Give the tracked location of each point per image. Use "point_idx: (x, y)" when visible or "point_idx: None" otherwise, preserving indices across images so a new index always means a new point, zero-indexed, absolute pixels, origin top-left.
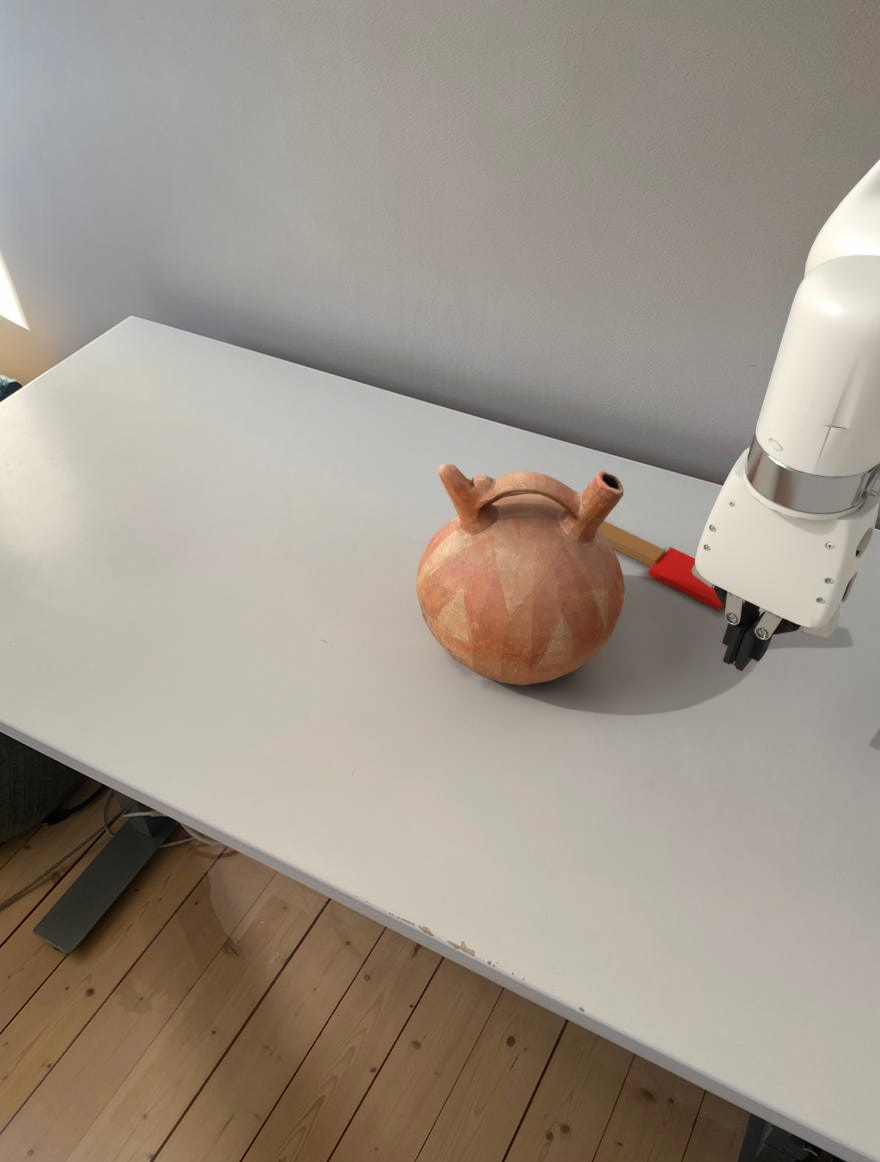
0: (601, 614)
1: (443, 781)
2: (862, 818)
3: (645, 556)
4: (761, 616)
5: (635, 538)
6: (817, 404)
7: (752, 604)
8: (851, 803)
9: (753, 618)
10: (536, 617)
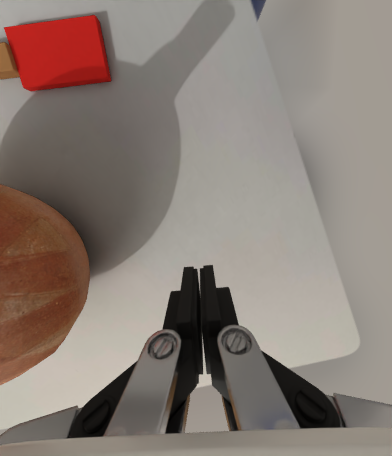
0: (44, 303)
1: (109, 347)
2: (311, 206)
3: (2, 72)
4: (214, 370)
5: None
6: None
7: (182, 370)
8: (301, 200)
9: (197, 346)
10: (8, 375)
